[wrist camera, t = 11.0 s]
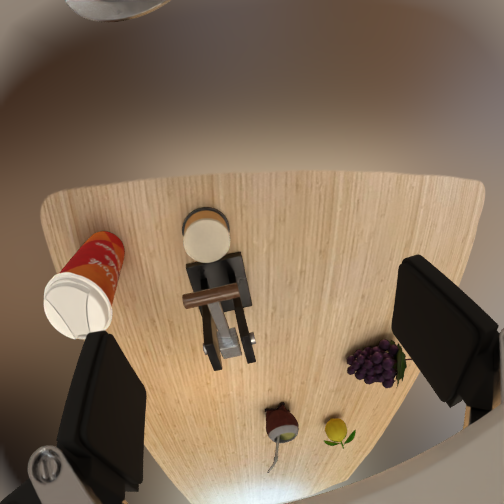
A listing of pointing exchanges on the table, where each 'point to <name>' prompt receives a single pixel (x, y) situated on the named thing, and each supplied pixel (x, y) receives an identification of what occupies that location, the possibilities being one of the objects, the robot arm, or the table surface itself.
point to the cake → (206, 235)
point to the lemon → (337, 432)
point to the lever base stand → (223, 302)
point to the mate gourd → (280, 427)
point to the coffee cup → (86, 287)
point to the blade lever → (218, 315)
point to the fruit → (378, 364)
